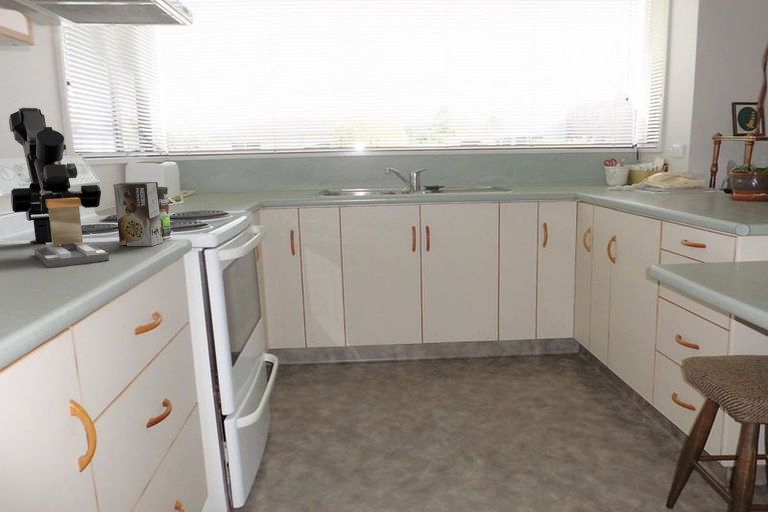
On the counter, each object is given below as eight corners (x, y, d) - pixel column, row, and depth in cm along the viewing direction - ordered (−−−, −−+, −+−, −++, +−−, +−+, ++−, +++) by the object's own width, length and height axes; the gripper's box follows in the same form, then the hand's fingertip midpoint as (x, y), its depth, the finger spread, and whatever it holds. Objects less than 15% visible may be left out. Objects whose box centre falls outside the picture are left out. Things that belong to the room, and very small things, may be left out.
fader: (50, 248, 139) (45, 199, 137) (82, 245, 143) (77, 197, 141) (53, 250, 136) (47, 200, 134) (85, 247, 140) (80, 198, 138)
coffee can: (176, 235, 172) (173, 186, 170) (163, 240, 162) (159, 188, 159) (141, 235, 172) (137, 186, 170) (125, 241, 162) (120, 189, 160)
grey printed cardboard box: (163, 242, 159) (159, 181, 156) (152, 246, 153) (147, 183, 150) (131, 242, 160) (125, 181, 157) (118, 246, 154) (112, 183, 151)
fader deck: (34, 254, 142) (33, 244, 142) (89, 249, 149) (88, 239, 149) (48, 267, 127) (47, 255, 126) (109, 260, 134) (108, 249, 133)
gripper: (6, 152, 135) (18, 204, 129) (95, 151, 146) (110, 199, 140) (6, 186, 143) (18, 236, 136) (91, 183, 154) (106, 229, 147)
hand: (64, 224), depth 140 cm, fingers closed, pressing on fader
